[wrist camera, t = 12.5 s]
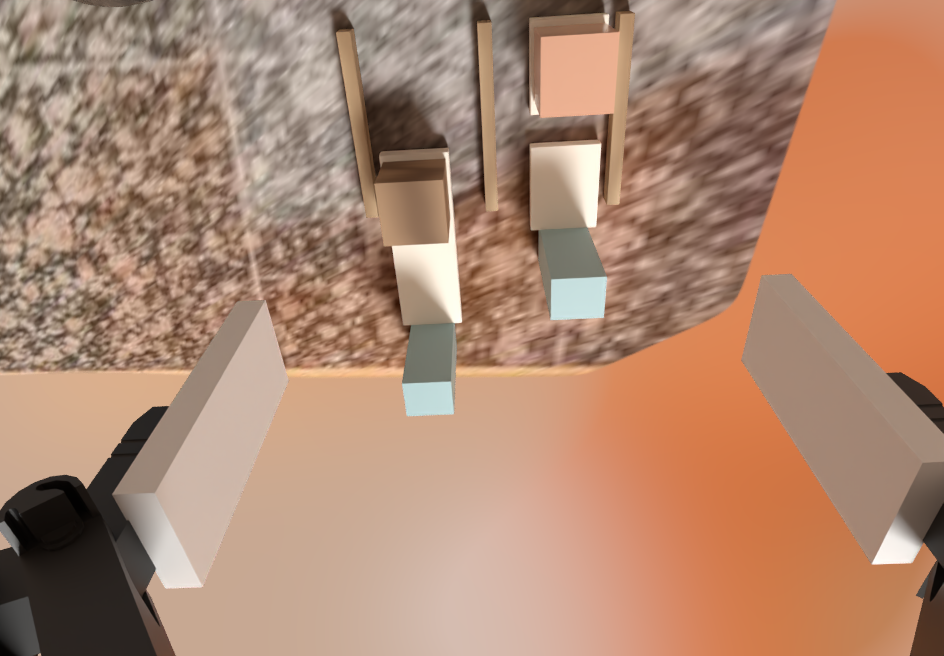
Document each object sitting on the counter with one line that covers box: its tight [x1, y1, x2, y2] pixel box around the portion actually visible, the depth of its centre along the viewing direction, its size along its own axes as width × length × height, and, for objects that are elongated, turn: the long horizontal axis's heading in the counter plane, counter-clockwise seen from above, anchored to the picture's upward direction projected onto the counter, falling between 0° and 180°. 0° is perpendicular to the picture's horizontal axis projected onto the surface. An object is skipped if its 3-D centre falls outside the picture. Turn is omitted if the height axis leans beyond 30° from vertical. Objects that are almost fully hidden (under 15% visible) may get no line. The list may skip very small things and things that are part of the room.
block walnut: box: [374, 159, 450, 246], centre depth 47 cm, size 5×5×5 cm
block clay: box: [534, 23, 620, 118], centre depth 41 cm, size 5×5×5 cm
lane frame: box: [336, 11, 635, 218], centre depth 46 cm, size 21×14×2 cm, turn 93°
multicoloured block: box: [379, 148, 462, 416], centre depth 49 cm, size 6×20×10 cm, turn 3°
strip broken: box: [529, 13, 609, 320], centre depth 44 cm, size 6×20×10 cm, turn 3°
